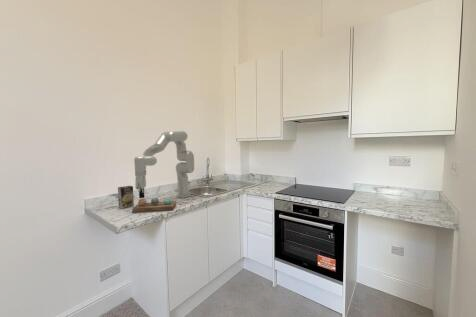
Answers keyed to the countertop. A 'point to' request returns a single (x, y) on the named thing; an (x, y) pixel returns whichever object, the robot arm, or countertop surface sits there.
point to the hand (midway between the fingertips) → (141, 197)
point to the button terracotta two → (142, 201)
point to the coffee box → (125, 197)
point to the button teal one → (167, 201)
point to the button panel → (154, 207)
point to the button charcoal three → (154, 201)
